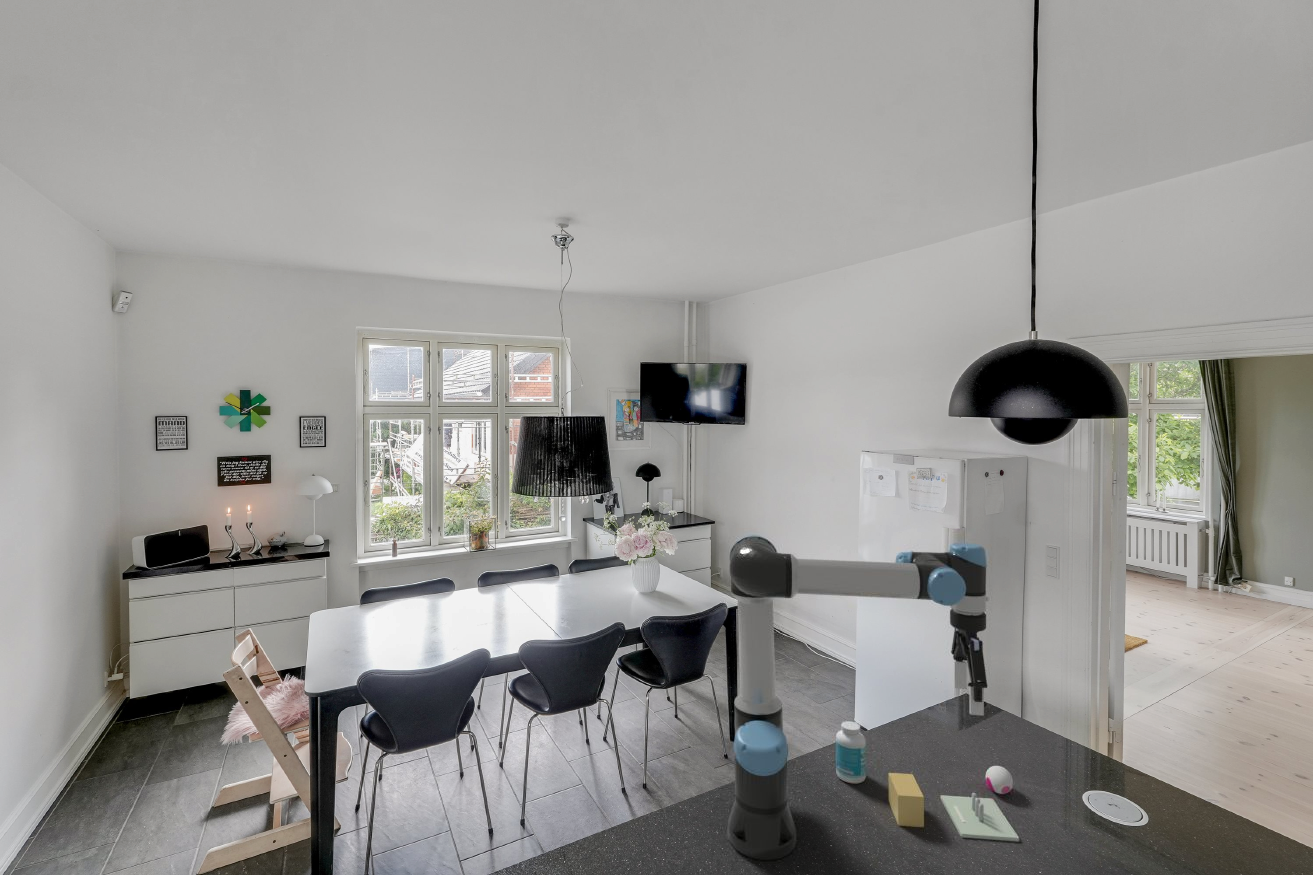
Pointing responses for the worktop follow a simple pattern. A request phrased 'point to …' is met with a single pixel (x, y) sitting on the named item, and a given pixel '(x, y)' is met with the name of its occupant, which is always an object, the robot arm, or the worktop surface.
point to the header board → (978, 818)
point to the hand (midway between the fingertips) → (968, 700)
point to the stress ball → (999, 779)
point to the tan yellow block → (906, 800)
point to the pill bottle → (850, 753)
